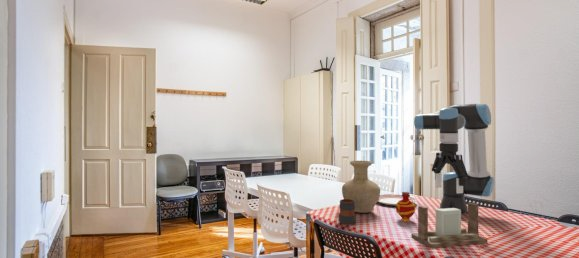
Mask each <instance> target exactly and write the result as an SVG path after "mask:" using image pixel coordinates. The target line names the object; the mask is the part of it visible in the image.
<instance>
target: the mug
mask: <svg viewBox="0 0 579 258" xmlns="http://www.w3.org/2000/svg"><path fill="white" fill-rule="evenodd" d="M355 213H356V212H355V202H354V200H351V199H344V198H343V199H340V200H339V213H338V221H339V223H340V224H342V225H347V226H352V225H354V224H355V223H356V214H355Z"/></svg>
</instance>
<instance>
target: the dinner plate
mask: <svg viewBox="0 0 579 258" xmlns="http://www.w3.org/2000/svg"><path fill="white" fill-rule="evenodd" d="M401 195H402V194H392V193H391V194H390V193H389V194H388V193H387V194H380V197H379V200H378V201H377V203H380V204H382V205H385V206H389V207H390V206H392V207H396V204H397V203H398V201H400V200H402V199H403V197H402V196H401ZM408 199H410V201H412V202H413V203H414V204H415V203H416V202H417V198H415V197H412V196H410V197H408Z"/></svg>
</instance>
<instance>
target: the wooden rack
mask: <svg viewBox="0 0 579 258" xmlns="http://www.w3.org/2000/svg"><path fill="white" fill-rule="evenodd" d="M467 208H468V211H467V228H464V227H463V228H462V227H461V235H449V236H435V230H429V226H428V225H429V207H427V206H425V205H418V206H417V209H418V210H417V216H418V217H417V232H416V233H411V238H412V239H414V240H417V242H420V243H422V244H424V245H425V246H427V247H429V248H431V249H434V248H445V247H446V248H447V247H456V246H465V245H466V246H467V245H475V244H477V245H478V244H487V243H488V238H485V237H483V236H481V235H480V234H479V204H478V203H475V202H467Z"/></svg>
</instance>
